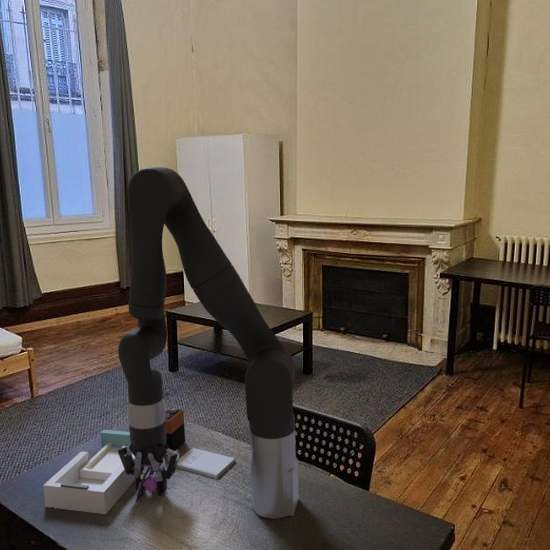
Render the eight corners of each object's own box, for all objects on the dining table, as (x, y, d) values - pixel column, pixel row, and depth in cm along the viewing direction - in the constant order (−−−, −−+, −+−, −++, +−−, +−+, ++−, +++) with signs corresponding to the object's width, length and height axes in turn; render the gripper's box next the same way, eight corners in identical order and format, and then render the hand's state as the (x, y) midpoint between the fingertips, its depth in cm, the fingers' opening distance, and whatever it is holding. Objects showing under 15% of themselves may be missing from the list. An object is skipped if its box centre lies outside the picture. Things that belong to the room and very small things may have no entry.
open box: (137, 476, 120) (135, 455, 119) (105, 514, 107) (103, 490, 106) (83, 470, 123) (81, 449, 122) (45, 506, 110) (42, 483, 109)
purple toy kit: (155, 452, 118) (140, 474, 109) (176, 460, 117) (163, 482, 108) (147, 477, 119) (132, 501, 110) (168, 485, 119) (154, 509, 110)
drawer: (154, 453, 129) (153, 433, 128) (127, 485, 116) (125, 464, 115) (105, 448, 132) (103, 429, 131) (72, 479, 119) (70, 458, 118)
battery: (186, 442, 135) (184, 406, 133) (172, 455, 129) (169, 417, 127) (171, 439, 137) (169, 404, 135) (157, 452, 131) (154, 415, 129)
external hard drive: (217, 481, 118) (173, 468, 124) (235, 463, 126) (193, 452, 131) (216, 474, 118) (173, 462, 124) (235, 457, 125) (193, 446, 131)
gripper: (185, 414, 112) (188, 486, 115) (125, 408, 115) (129, 479, 118) (171, 430, 105) (175, 507, 108) (107, 424, 108) (112, 498, 111)
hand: (151, 492), depth 113 cm, fingers closed on purple toy kit, 4 cm apart
